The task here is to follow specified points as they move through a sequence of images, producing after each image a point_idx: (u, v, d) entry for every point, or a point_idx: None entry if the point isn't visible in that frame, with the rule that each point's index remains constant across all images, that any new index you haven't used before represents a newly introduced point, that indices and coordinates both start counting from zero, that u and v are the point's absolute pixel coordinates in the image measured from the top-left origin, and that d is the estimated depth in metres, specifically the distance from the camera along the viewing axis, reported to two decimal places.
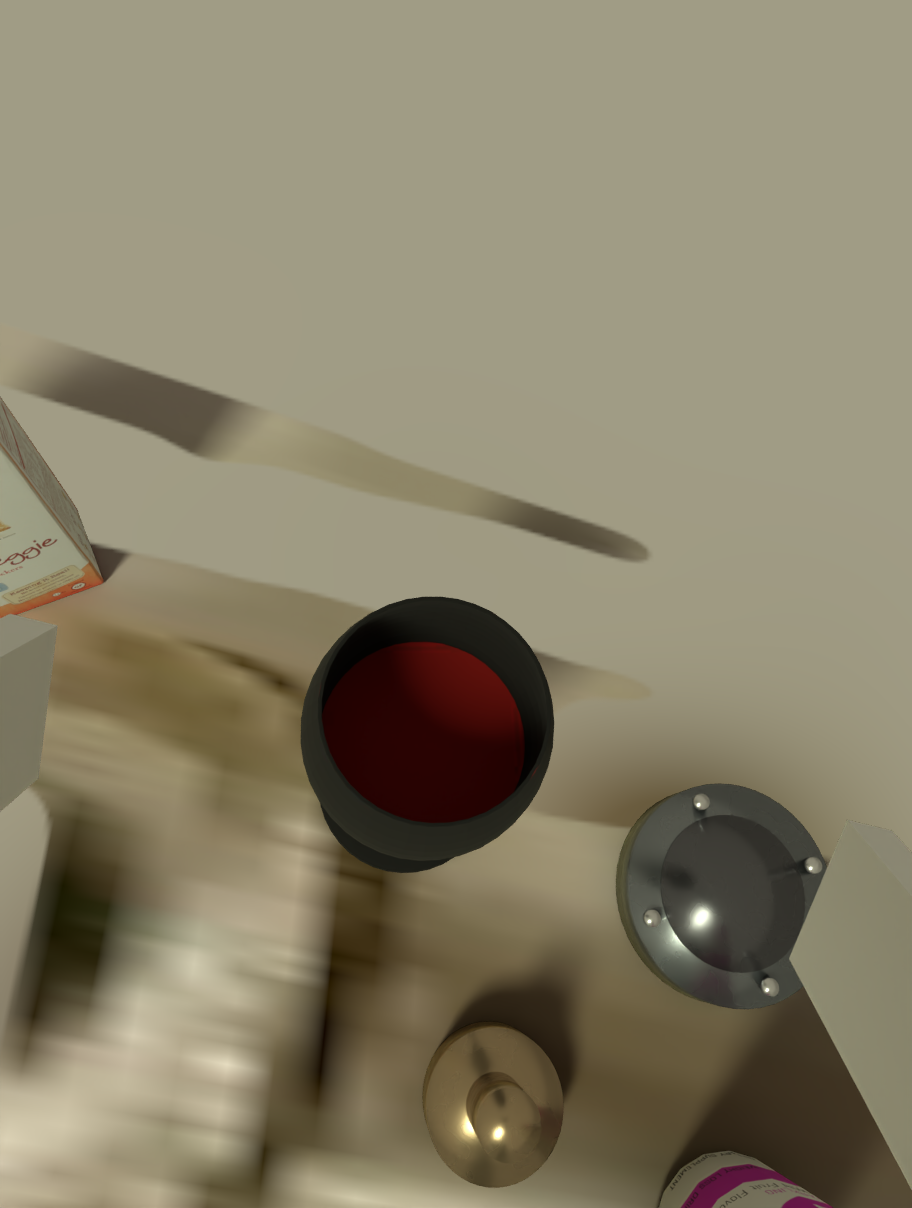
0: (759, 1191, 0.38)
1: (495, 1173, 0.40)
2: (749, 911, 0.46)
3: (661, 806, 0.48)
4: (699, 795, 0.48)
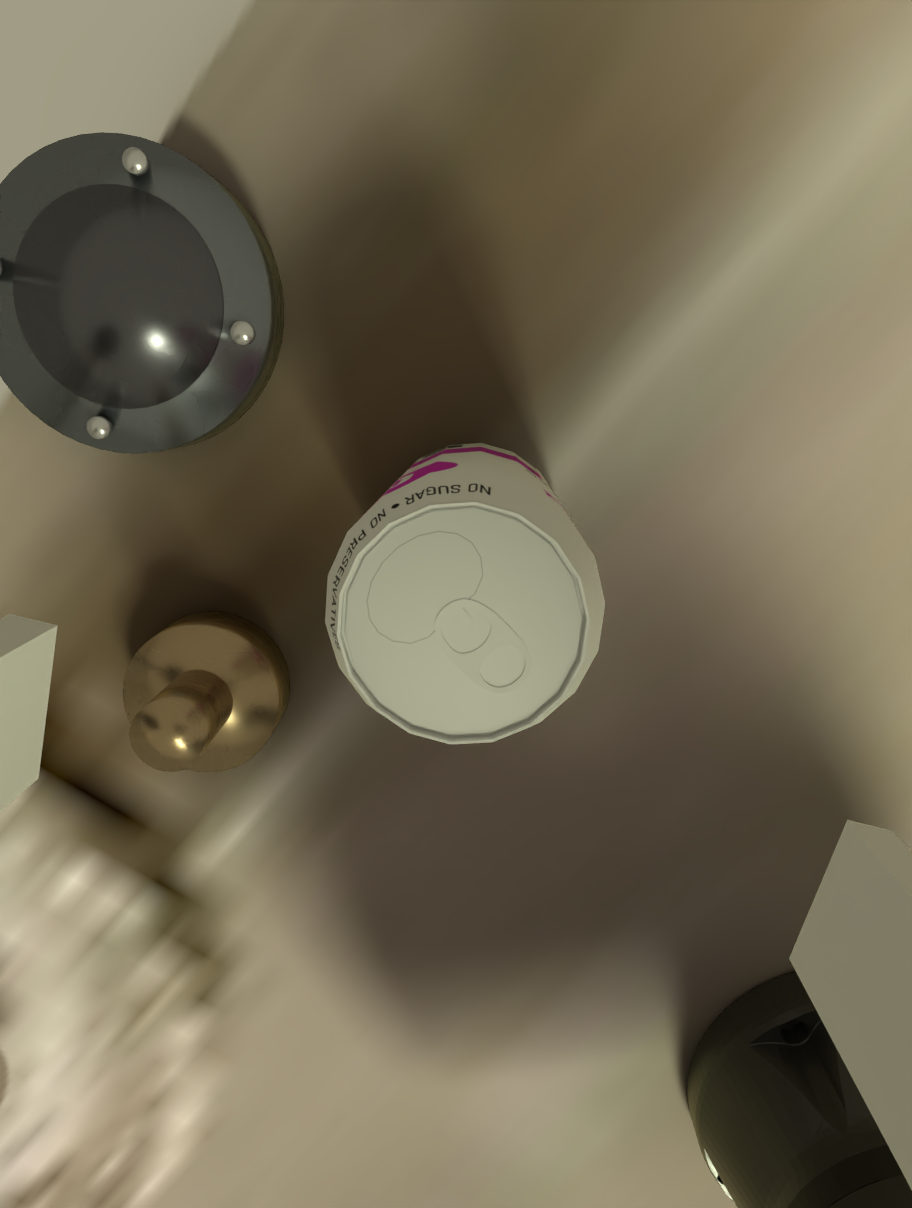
0: None
1: (256, 733, 0.37)
2: (150, 295, 0.32)
3: None
4: None
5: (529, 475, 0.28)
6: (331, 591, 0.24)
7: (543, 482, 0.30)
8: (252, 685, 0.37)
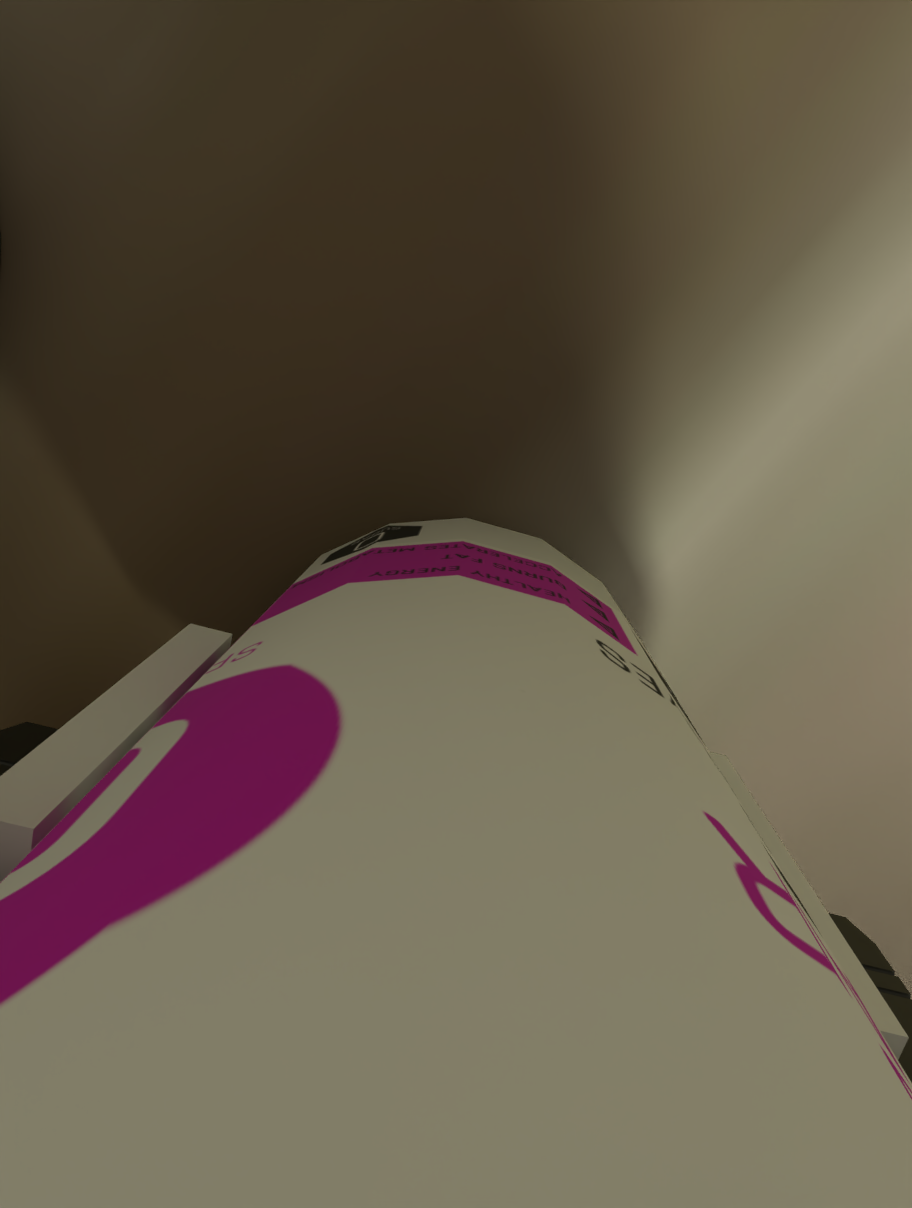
0: None
1: None
2: None
3: None
4: None
5: (624, 701, 0.08)
6: None
7: (649, 680, 0.10)
8: None
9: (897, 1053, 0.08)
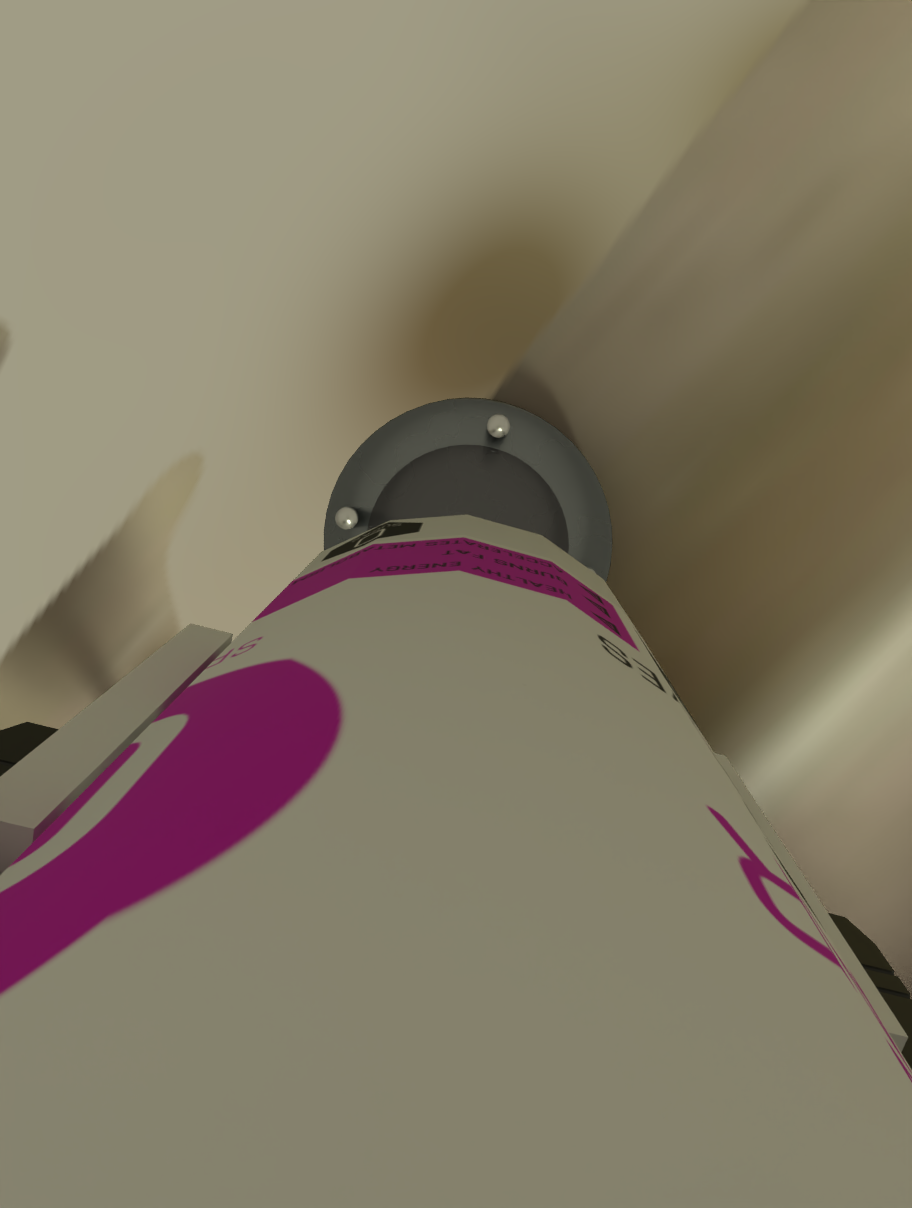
0: None
1: None
2: None
3: None
4: (337, 516, 0.34)
5: (626, 695, 0.08)
6: None
7: (651, 676, 0.10)
8: None
9: None
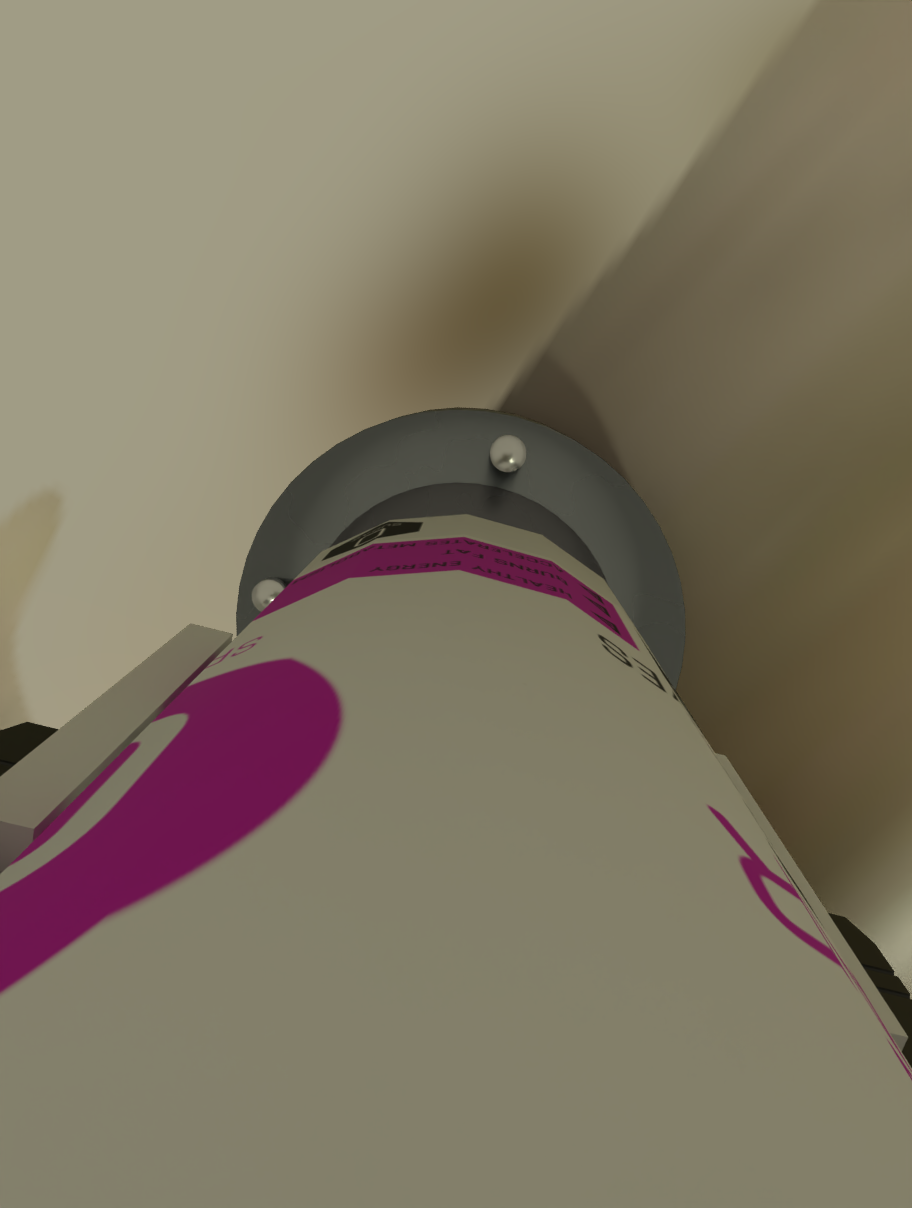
0: None
1: None
2: None
3: None
4: (255, 594, 0.21)
5: (626, 695, 0.08)
6: None
7: (651, 675, 0.10)
8: None
9: None
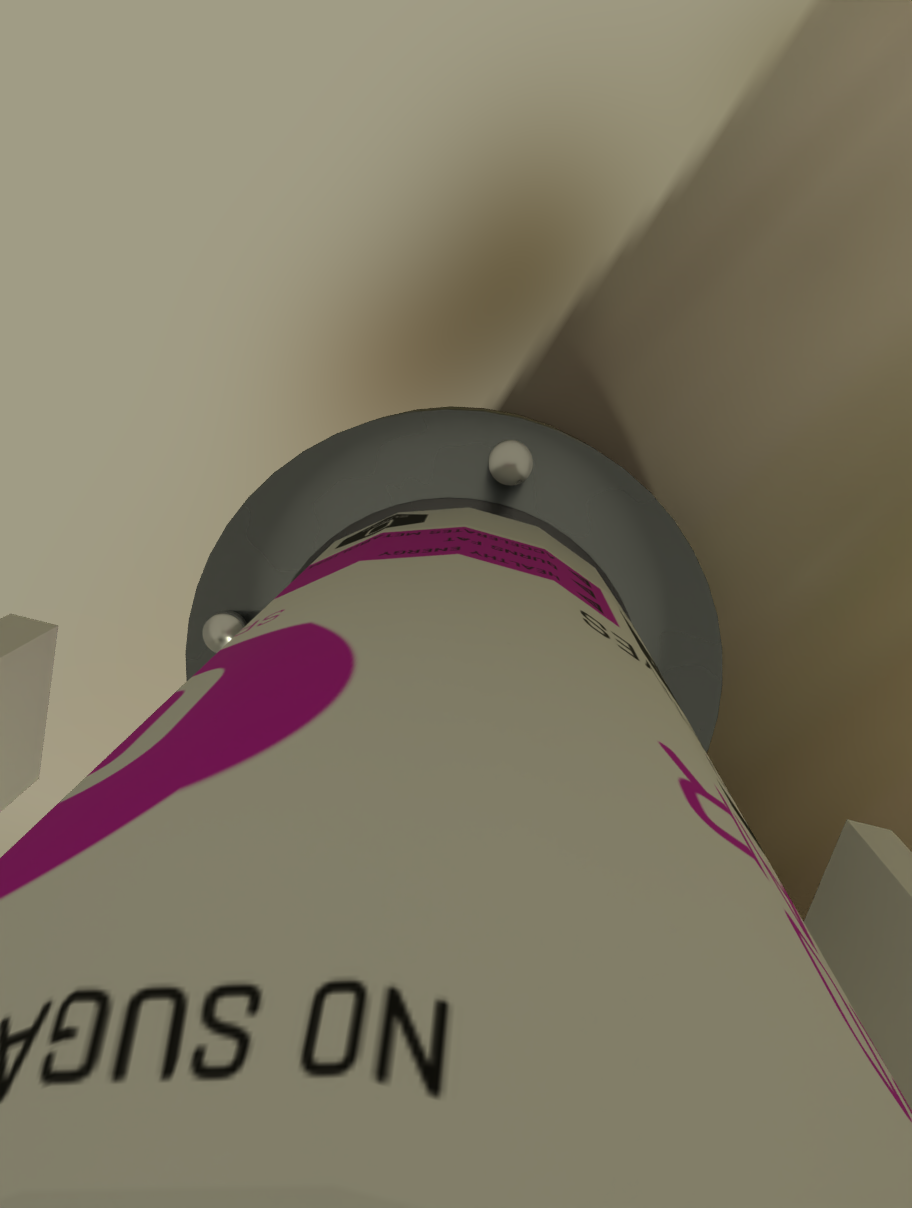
0: None
1: None
2: None
3: None
4: (206, 631, 0.18)
5: (599, 657, 0.09)
6: None
7: (627, 646, 0.11)
8: None
9: None
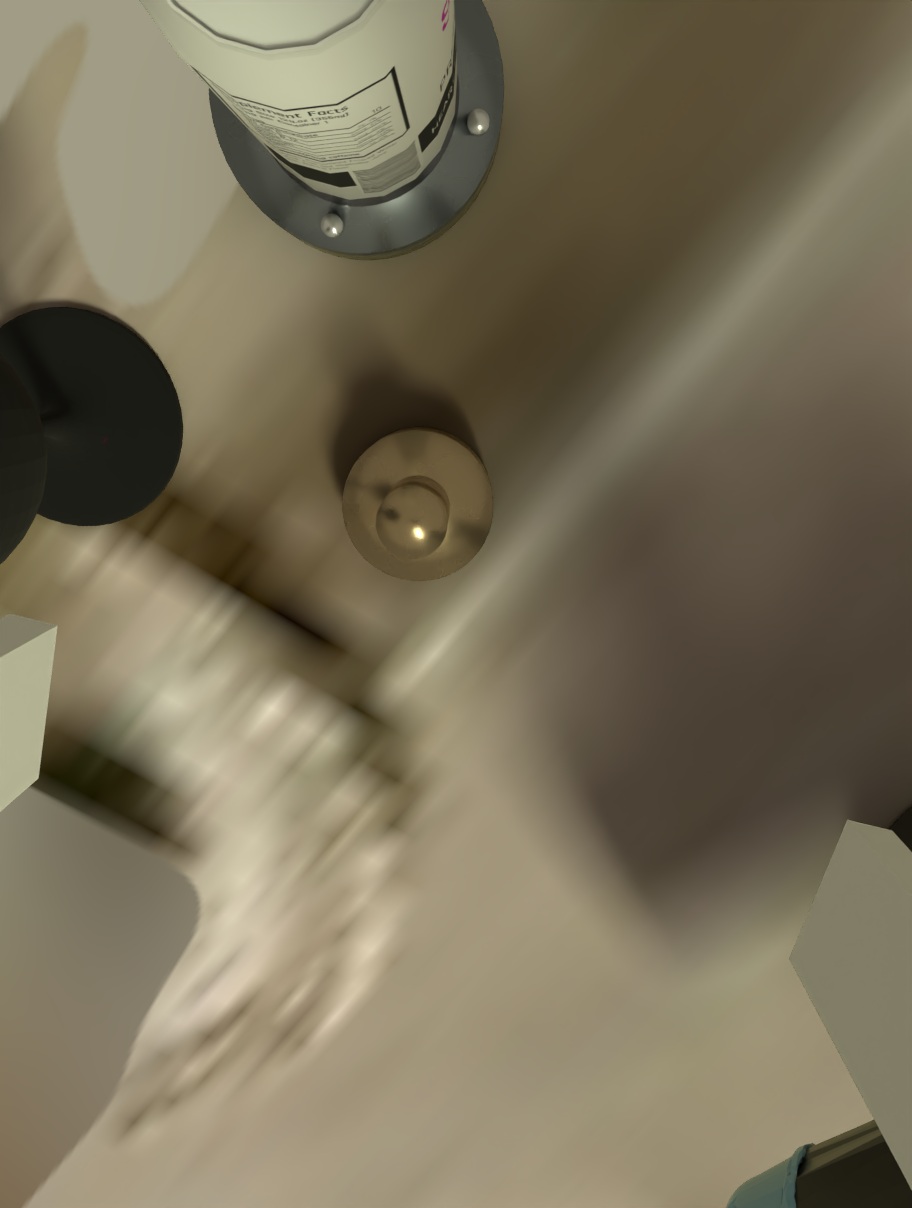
0: None
1: (472, 539, 0.38)
2: None
3: (214, 122, 0.34)
4: None
5: None
6: None
7: None
8: (469, 490, 0.38)
9: None
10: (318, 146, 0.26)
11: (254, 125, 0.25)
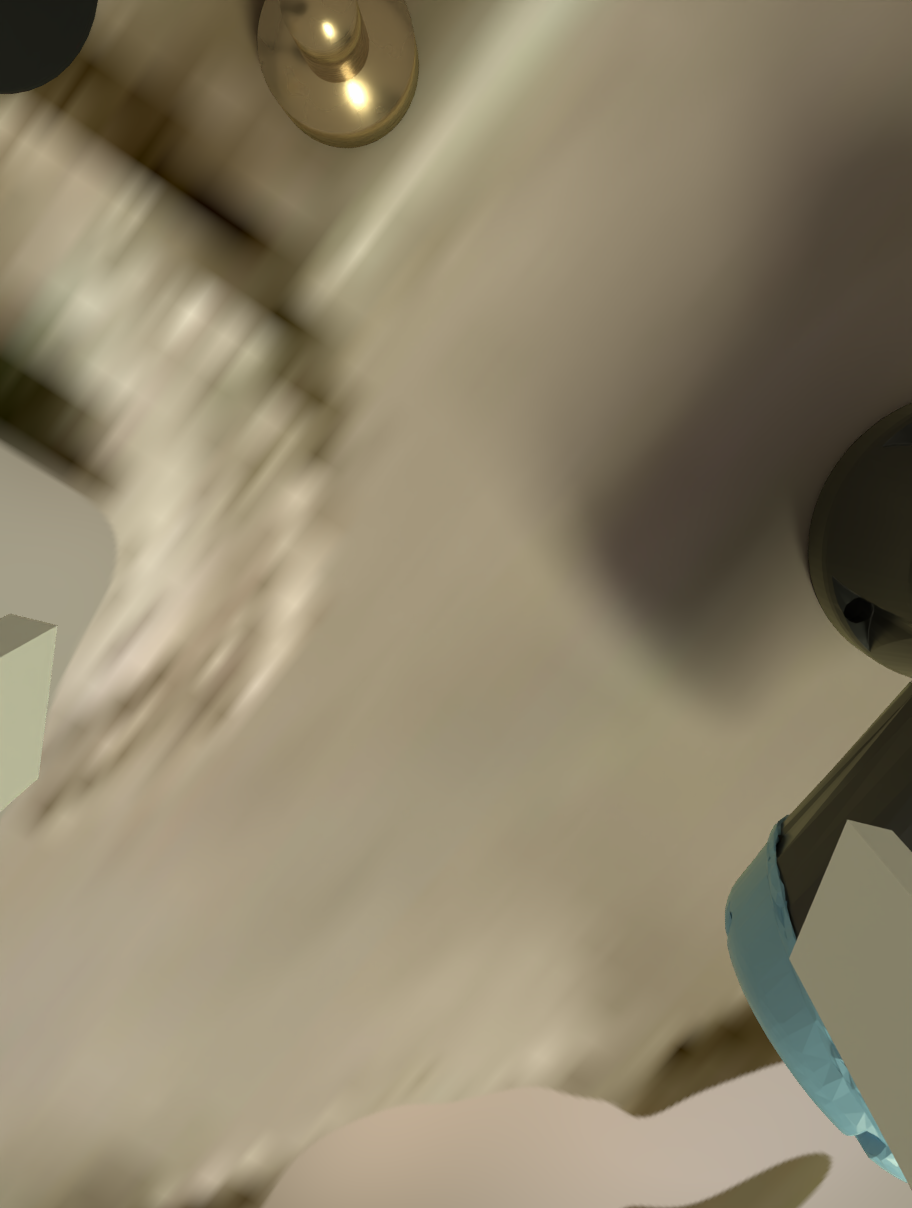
0: None
1: (392, 82, 0.37)
2: None
3: None
4: None
5: None
6: None
7: None
8: (389, 24, 0.36)
9: None
10: None
11: None
